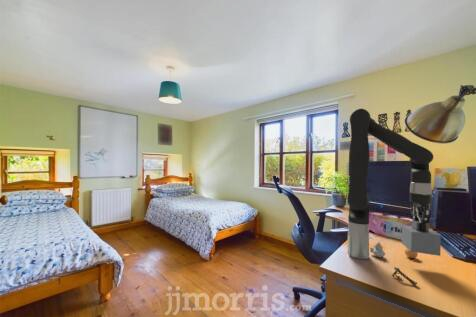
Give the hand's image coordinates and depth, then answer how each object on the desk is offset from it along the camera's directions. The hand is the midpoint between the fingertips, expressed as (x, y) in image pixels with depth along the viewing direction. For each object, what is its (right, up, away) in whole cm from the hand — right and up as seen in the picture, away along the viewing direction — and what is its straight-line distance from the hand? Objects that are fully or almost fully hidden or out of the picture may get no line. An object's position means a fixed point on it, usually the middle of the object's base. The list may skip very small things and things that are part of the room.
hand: (419, 229), depth 94 cm
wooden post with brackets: (-17, -17, -12) cm, 27 cm away
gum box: (+18, -19, +43) cm, 51 cm away
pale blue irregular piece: (-12, -18, +11) cm, 24 cm away
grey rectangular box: (0, -9, 0) cm, 9 cm away
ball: (+5, -15, +10) cm, 19 cm away
